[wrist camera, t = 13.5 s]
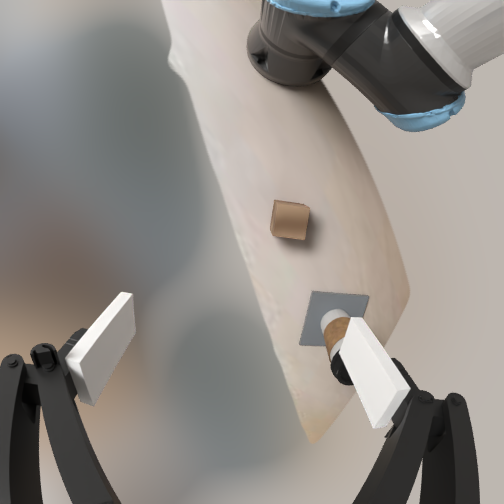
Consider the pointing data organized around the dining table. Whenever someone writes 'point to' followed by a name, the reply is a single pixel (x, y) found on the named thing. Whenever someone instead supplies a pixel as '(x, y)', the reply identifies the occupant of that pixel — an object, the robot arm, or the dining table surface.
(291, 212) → the walnut block
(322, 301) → the slate coaster
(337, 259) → the dining table surface
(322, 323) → the coffee cup
